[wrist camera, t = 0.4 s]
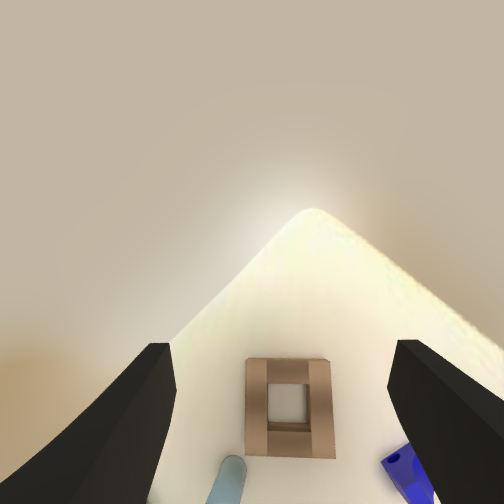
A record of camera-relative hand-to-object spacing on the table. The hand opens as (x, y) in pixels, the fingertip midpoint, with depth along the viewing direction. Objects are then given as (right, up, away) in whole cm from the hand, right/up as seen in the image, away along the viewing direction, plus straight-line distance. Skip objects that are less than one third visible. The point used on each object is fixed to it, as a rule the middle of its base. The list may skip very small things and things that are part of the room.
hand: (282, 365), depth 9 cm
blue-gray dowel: (-3, -20, +23) cm, 30 cm away
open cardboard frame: (+3, -13, +24) cm, 27 cm away
